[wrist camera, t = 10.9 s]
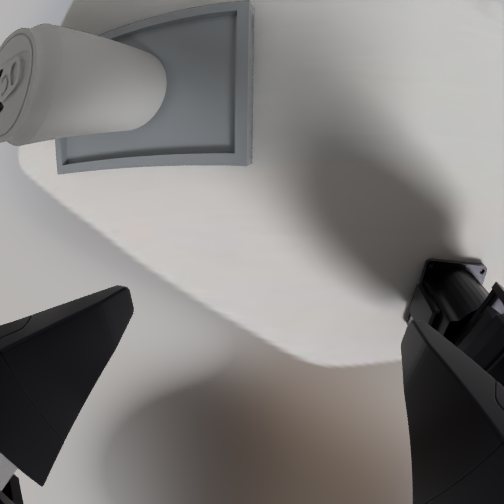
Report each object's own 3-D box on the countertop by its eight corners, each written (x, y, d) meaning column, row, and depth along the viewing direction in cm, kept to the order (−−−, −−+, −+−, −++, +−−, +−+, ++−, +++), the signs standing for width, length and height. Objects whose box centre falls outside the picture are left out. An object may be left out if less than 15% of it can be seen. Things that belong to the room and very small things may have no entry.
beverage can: (100, 72, 17) (-21, 66, 6) (165, 41, 16) (42, -6, 5) (111, 140, 20) (-17, 168, 9) (179, 116, 18) (42, 117, 7)
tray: (253, 8, 14) (249, 0, 13) (252, 163, 19) (246, 165, 18) (69, 55, 18) (58, 54, 16) (69, 171, 22) (57, 174, 21)
